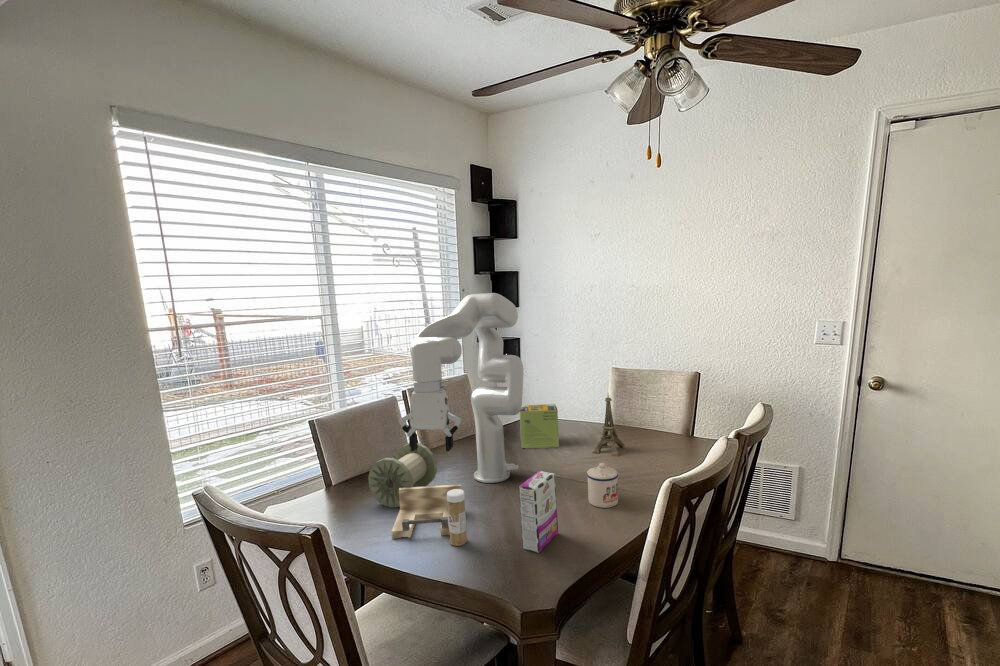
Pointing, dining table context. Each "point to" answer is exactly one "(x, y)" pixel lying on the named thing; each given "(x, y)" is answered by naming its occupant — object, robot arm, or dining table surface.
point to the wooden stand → (422, 508)
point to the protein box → (539, 426)
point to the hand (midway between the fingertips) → (431, 449)
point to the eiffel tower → (613, 436)
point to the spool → (401, 473)
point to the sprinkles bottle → (457, 517)
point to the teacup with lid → (602, 486)
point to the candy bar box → (538, 511)
